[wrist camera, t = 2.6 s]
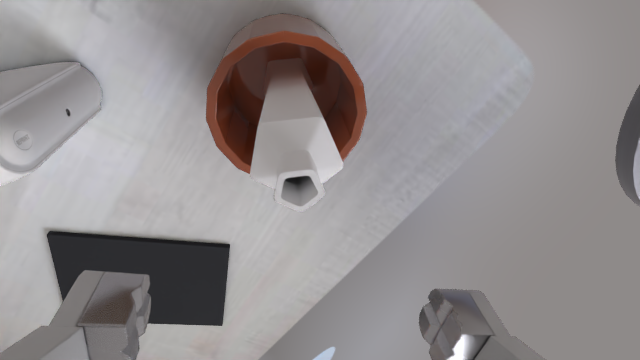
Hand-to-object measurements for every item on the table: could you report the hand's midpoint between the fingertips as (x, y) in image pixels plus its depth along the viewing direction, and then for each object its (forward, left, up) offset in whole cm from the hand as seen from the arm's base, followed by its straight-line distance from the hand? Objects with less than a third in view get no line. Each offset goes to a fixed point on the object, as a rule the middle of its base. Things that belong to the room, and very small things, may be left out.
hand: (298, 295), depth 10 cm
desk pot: (0, 0, -21) cm, 21 cm away
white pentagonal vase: (0, 0, -21) cm, 21 cm away
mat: (+11, +23, -21) cm, 33 cm away
